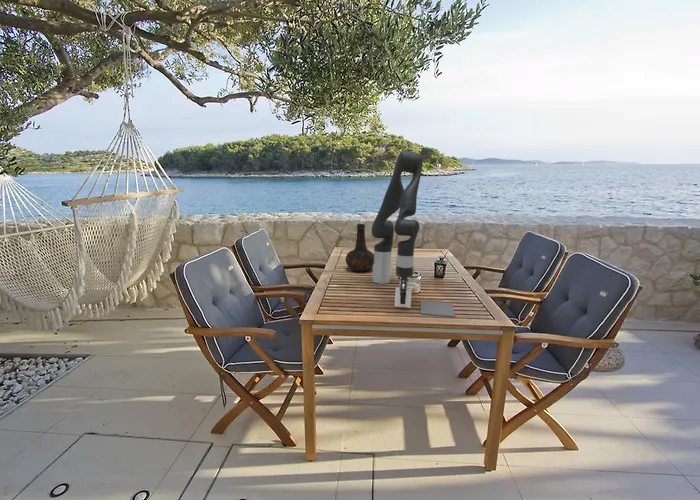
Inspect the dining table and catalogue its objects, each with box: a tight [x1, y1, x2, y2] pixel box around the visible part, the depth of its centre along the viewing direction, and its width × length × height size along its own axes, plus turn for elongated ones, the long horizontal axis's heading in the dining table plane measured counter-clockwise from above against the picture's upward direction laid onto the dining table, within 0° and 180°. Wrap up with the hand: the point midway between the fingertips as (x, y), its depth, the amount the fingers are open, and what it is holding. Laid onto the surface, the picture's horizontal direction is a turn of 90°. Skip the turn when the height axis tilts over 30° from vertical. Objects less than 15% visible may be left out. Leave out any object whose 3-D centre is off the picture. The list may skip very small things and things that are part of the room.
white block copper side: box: [394, 286, 413, 309], centre depth 173 cm, size 7×4×8 cm, turn 80°
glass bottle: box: [345, 223, 374, 273], centre depth 231 cm, size 18×18×28 cm
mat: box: [420, 300, 456, 318], centre depth 170 cm, size 14×16×1 cm
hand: (402, 302), depth 173 cm, fingers closed on white block copper side, 3 cm apart
